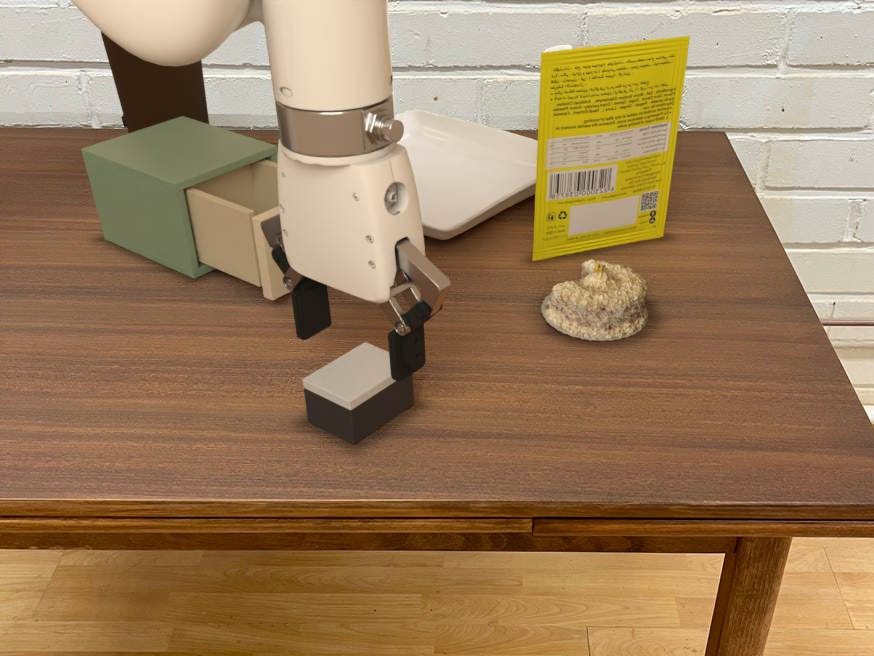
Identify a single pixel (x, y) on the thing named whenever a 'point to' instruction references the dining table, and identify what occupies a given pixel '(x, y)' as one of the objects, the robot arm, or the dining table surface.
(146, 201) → the cabinet
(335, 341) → the dining table surface
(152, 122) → the rounded brown slab
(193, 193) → the drawer
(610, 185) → the food package
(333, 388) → the box
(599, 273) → the cake
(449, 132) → the square plate
